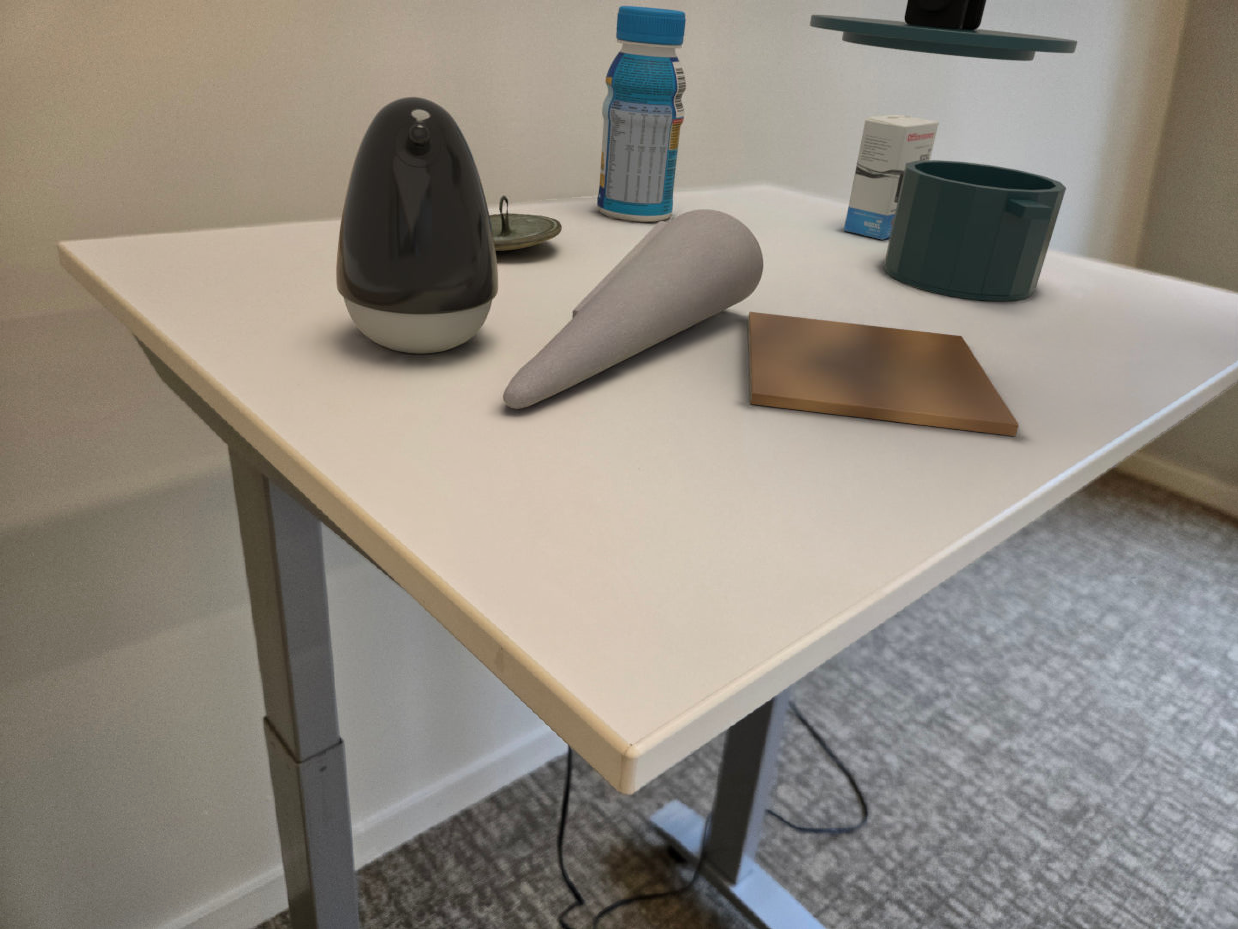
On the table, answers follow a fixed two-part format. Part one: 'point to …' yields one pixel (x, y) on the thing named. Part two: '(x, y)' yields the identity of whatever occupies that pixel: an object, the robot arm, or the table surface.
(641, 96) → the beverage bottle
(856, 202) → the ink box
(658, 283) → the grey cone
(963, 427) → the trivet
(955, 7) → the robot arm
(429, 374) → the table surface
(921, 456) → the table surface
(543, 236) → the lid
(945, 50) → the pot lid
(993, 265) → the pot
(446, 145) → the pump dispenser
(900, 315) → the table surface
